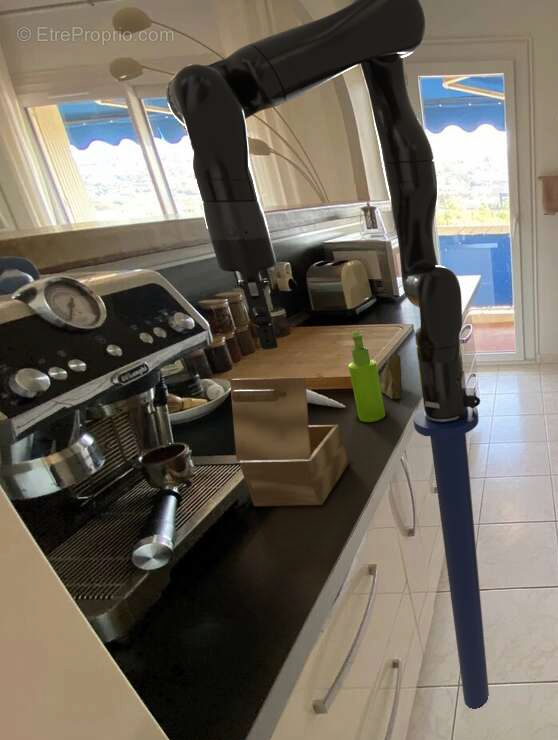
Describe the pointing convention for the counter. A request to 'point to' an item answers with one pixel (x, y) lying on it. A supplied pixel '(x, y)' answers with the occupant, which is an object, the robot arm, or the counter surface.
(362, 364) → the soap dispenser
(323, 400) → the unicorn horn
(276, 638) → the counter surface
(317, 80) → the robot arm
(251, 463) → the caddy
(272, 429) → the lid
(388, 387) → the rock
